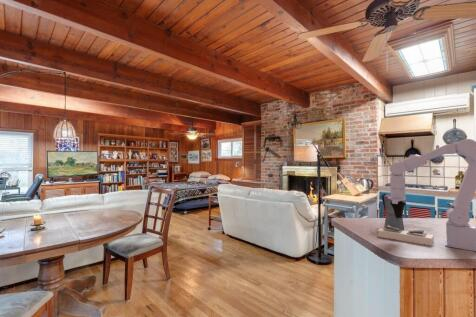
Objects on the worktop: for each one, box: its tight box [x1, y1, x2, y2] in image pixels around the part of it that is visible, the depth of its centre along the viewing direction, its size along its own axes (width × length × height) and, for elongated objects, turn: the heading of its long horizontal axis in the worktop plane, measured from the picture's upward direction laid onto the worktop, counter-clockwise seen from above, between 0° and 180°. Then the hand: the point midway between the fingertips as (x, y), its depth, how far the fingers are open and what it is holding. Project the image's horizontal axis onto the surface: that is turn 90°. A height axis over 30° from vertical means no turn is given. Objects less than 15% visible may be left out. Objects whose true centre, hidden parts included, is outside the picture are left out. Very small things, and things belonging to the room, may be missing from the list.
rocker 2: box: [408, 229, 425, 233], centre depth 106 cm, size 5×3×1 cm, turn 46°
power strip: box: [377, 227, 435, 247], centre depth 109 cm, size 20×7×3 cm, turn 46°
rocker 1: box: [386, 225, 399, 231], centre depth 112 cm, size 5×3×1 cm, turn 46°
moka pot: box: [381, 192, 406, 231], centre depth 128 cm, size 10×15×20 cm, turn 12°
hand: (398, 217), depth 110 cm, fingers closed
